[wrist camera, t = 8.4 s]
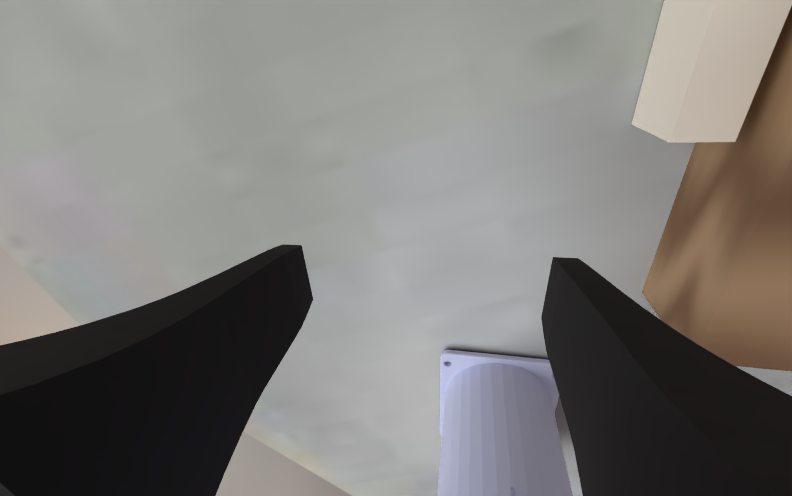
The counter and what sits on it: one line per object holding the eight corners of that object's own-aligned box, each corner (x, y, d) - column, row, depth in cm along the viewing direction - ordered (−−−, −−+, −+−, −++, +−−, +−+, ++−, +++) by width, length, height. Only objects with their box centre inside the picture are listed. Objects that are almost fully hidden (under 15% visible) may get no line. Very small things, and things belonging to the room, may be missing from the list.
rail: (725, 297, 18) (801, 372, 14) (641, 292, 19) (689, 361, 15) (896, -39, 12) (1141, -88, 7) (755, -25, 12) (903, -64, 8)
